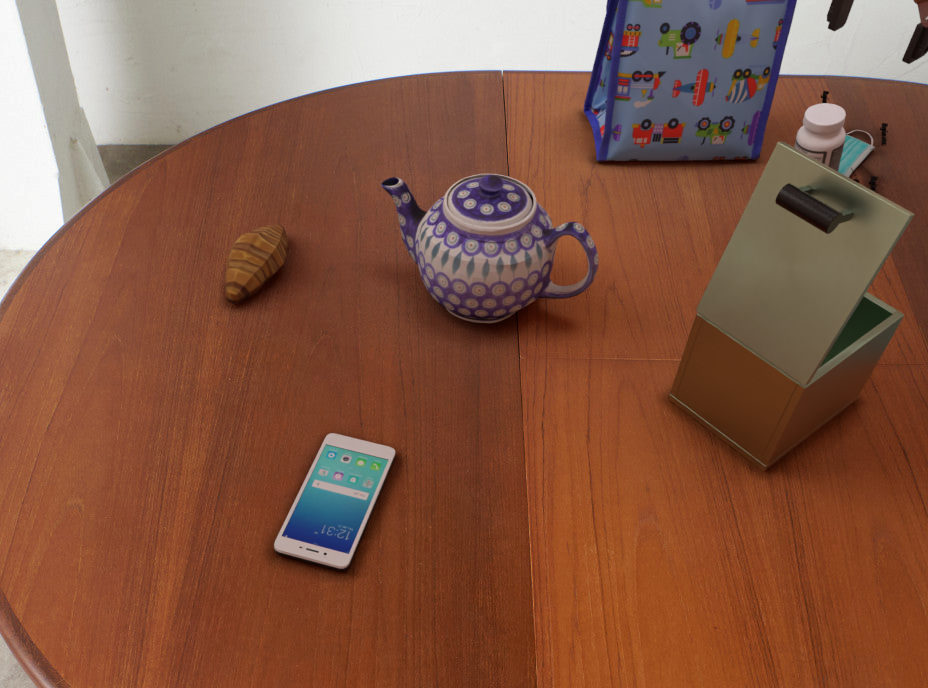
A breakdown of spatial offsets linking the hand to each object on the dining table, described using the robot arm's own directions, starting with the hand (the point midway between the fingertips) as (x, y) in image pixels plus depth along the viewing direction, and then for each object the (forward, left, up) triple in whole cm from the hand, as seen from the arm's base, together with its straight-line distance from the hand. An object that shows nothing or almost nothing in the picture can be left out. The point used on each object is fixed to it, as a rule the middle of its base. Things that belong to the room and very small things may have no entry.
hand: (871, 43), depth 94 cm
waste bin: (+23, +14, -25) cm, 37 cm away
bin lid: (+28, +14, -5) cm, 32 cm away
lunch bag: (-6, -25, -25) cm, 36 cm away
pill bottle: (-12, -6, -25) cm, 28 cm away
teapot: (+35, -17, -25) cm, 46 cm away
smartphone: (+66, -3, -25) cm, 70 cm away
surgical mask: (-21, -7, -25) cm, 33 cm away
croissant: (+53, -36, -25) cm, 69 cm away
